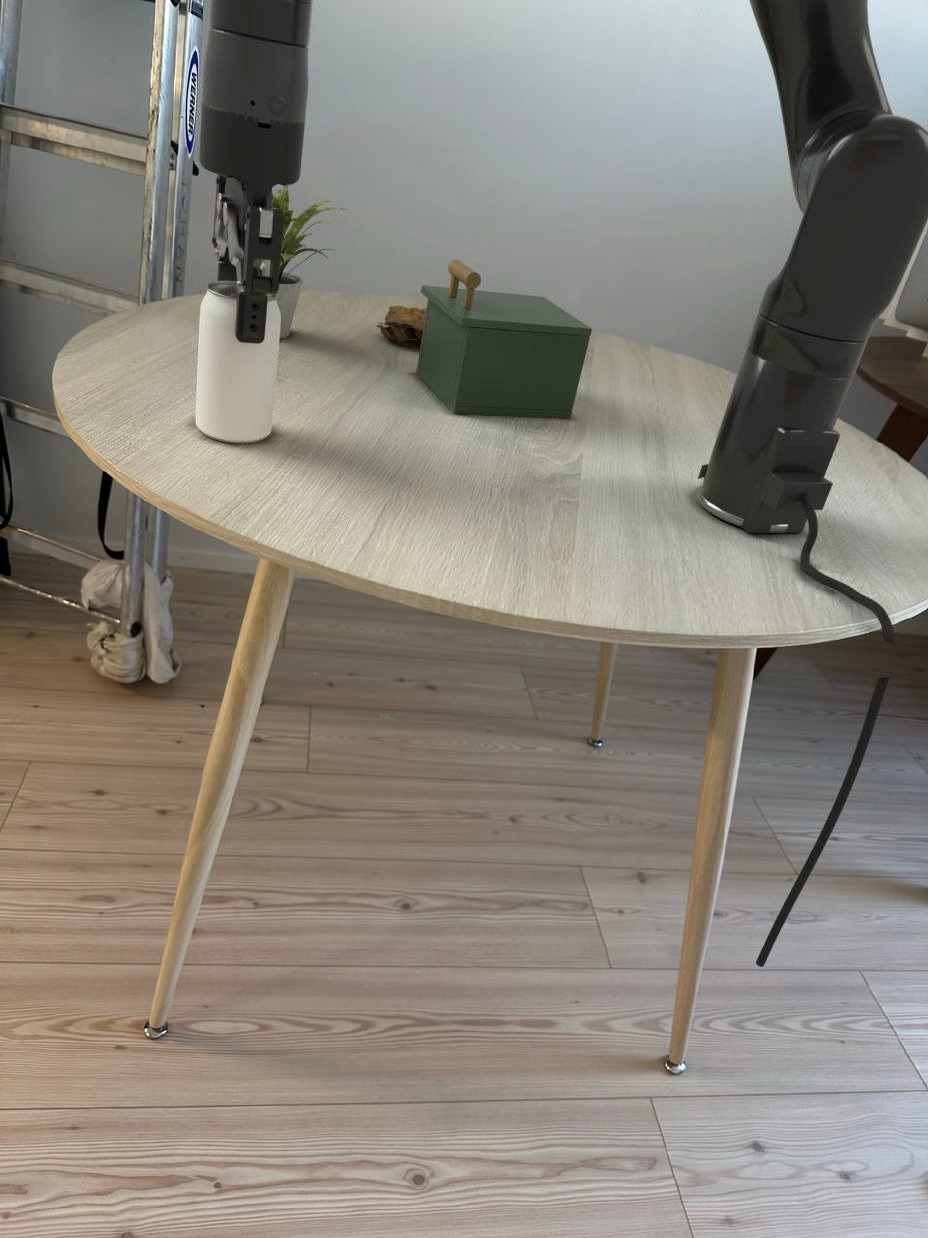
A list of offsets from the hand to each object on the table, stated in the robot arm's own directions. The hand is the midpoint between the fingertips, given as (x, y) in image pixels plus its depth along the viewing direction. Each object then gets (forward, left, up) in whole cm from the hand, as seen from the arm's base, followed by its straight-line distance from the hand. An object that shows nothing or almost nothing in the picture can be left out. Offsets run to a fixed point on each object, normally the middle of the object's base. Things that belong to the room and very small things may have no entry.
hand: (239, 324), depth 81 cm
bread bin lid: (+12, -30, 0) cm, 32 cm away
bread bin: (+12, -30, -9) cm, 34 cm away
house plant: (+29, -10, -9) cm, 32 cm away
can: (0, 0, -9) cm, 9 cm away
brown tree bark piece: (+30, -30, -9) cm, 43 cm away
